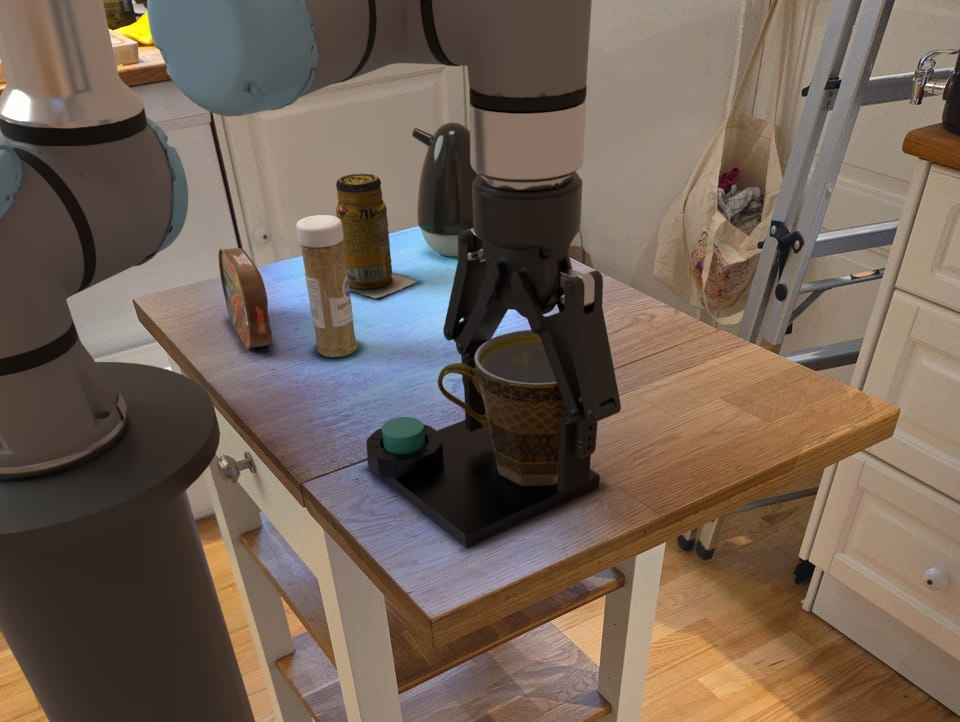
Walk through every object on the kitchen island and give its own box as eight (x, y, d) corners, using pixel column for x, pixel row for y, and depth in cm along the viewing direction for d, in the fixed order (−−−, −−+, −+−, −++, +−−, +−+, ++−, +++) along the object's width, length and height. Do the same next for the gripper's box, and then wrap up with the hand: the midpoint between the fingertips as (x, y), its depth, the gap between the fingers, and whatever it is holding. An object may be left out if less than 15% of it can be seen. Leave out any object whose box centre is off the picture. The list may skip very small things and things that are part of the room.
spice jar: (358, 356, 95) (341, 226, 86) (316, 360, 95) (294, 229, 86) (357, 339, 98) (340, 211, 89) (316, 342, 98) (295, 214, 89)
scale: (356, 468, 78) (352, 438, 76) (489, 417, 84) (488, 388, 82) (458, 551, 69) (456, 519, 67) (599, 487, 75) (601, 456, 73)
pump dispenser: (433, 235, 123) (425, 111, 113) (504, 240, 121) (503, 114, 111) (407, 260, 116) (396, 130, 106) (482, 266, 114) (478, 134, 103)
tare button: (376, 443, 76) (373, 425, 75) (410, 430, 78) (409, 412, 77) (398, 460, 74) (396, 441, 73) (433, 446, 76) (432, 428, 74)
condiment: (371, 268, 115) (359, 167, 106) (417, 283, 110) (409, 178, 102) (329, 285, 111) (314, 181, 102) (375, 301, 106) (363, 194, 98)
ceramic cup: (589, 435, 79) (596, 327, 72) (599, 497, 72) (608, 383, 65) (445, 438, 79) (438, 330, 72) (440, 500, 72) (432, 387, 65)
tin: (226, 312, 105) (209, 239, 99) (251, 307, 106) (236, 234, 100) (253, 362, 95) (236, 283, 89) (281, 356, 96) (266, 278, 90)
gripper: (698, 203, 54) (658, 502, 68) (468, 130, 68) (476, 389, 83) (606, 230, 50) (585, 537, 65) (386, 147, 65) (409, 413, 80)
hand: (524, 454), depth 74 cm, fingers open, 12 cm apart
